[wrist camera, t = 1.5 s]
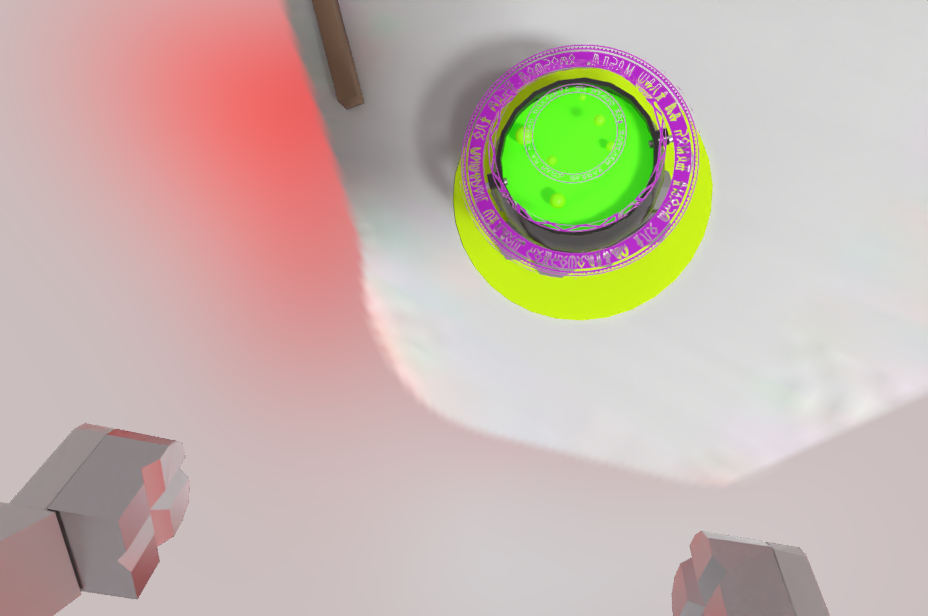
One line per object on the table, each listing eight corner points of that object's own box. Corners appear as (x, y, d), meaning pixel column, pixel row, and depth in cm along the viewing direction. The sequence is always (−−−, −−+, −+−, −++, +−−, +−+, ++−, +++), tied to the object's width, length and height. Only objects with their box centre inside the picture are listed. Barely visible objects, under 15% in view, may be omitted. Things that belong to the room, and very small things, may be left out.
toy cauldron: (481, 344, 39) (441, 342, 29) (431, 107, 41) (375, 20, 30) (741, 289, 37) (804, 263, 26) (677, 38, 38) (712, -84, 28)
